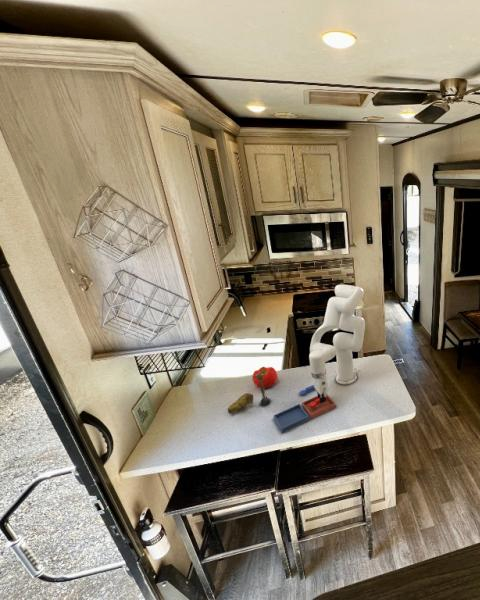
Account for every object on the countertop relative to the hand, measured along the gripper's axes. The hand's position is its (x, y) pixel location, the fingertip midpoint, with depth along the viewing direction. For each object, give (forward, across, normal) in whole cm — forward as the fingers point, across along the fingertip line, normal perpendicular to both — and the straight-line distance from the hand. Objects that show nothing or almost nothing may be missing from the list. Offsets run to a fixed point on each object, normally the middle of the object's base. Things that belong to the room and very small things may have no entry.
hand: (322, 400), depth 180 cm
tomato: (+3, +38, +19) cm, 43 cm away
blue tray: (+4, 0, +18) cm, 18 cm away
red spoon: (+1, 0, +3) cm, 3 cm away
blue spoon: (+3, +16, +2) cm, 17 cm away
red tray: (+3, 0, +2) cm, 4 cm away
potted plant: (+4, +22, +25) cm, 33 cm away
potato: (+4, +25, +36) cm, 44 cm away
